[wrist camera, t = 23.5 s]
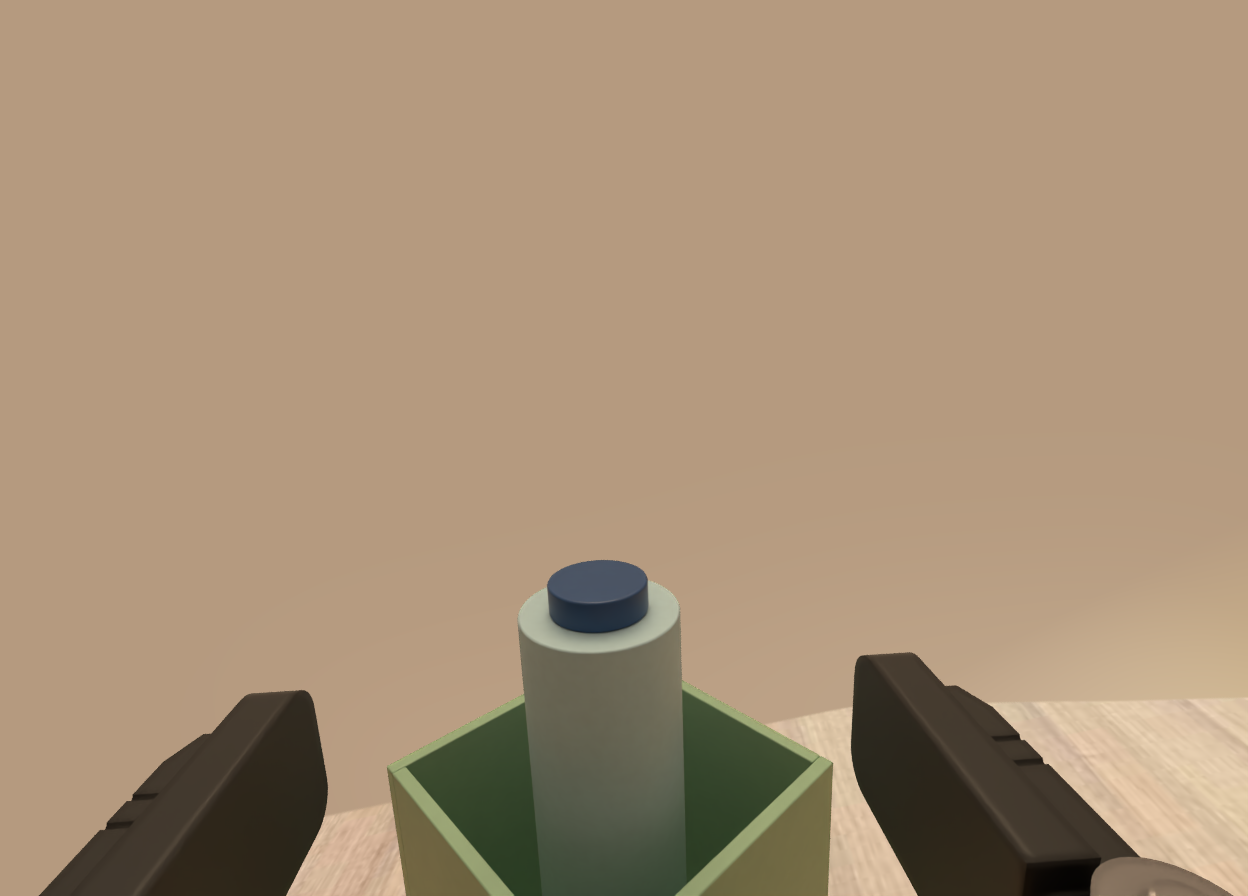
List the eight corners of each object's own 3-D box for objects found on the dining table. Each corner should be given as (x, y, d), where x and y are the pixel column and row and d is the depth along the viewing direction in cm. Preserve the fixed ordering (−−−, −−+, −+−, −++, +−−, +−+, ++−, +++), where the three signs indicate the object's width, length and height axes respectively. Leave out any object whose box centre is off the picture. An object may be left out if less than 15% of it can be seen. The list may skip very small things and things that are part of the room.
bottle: (530, 1068, 23) (483, 609, 18) (582, 931, 27) (554, 543, 23) (673, 1118, 21) (656, 629, 17) (701, 963, 26) (693, 554, 22)
